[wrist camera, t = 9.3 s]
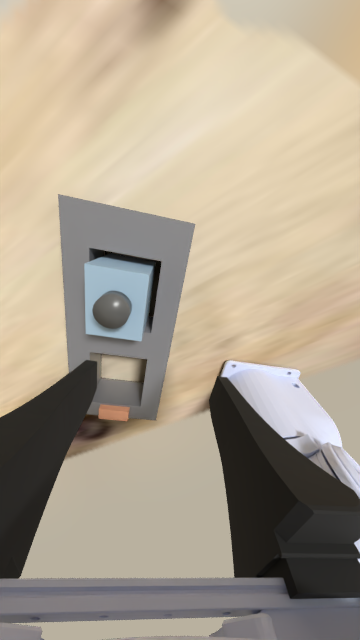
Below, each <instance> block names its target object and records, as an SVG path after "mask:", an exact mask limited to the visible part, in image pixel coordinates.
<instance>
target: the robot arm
mask: <svg viewBox="0 0 360 640" xmlns="http://www.w3.org/2000/svg"><path fill="white" fill-rule="evenodd" d="M234 364H235V365H234ZM232 365H234V366H232ZM299 376H300V372H299V370H297V369H290V368H282V367H275V366H268V365H260V364H253V363H245V362H238V361H230V360H229V361H226V362H225V364H224V367H223V370H222V373H221V376H217V379H216V382H215V385H214V388H213V391H212V394H211V397H210V399H209V403H210V412H211V418H212V423H213V427H214V431H215V435H216V440H217V444H218V448H219V452H220V457H221V462H222V466H223V474H224V481H225V488H226V495H227V503H228V512H229V520H230V530H231V540H232V552H233V564H234V576H235V578H77V579H76V578H68V579H67V578H60V579H59V578H58V579H56V578H50V579H49V578H48V579H18V578H19V577H20V576H21V573H22V570H23V567H24V565H25V562H26V559H27V556H28V553H29V550H30V548H31V545H32V542H33V539H34V536H35V533H36V531H37V528H38V525H39V523H40V520H41V517H42V515H43V512H44V509H45V506H46V504H47V501H48V498H49V496H50V493H51V491H52V488H53V486H54V483H55V481H56V478H57V475H58V473H59V470H60V468H61V466H62V463H63V461H64V458H65V456H66V453H67V451H68V449H69V447H70V445H71V443H72V441H73V439H74V437H75V435H76V433H77V431H78V429H79V427H80V425H81V423H82V421H83V419H84V417H85V415H86V413H87V411H88V409H89V407H90V405H91V403H92V400H93V398H94V395H95V392H96V389H97V361H91V360H86V361H84V362H83V363H81V364H80V365H79V366H78V367H76V368H75V369H74V370H73V371H71V372H70V373H69V374H68V375H66V376H65V377H64V378H62V379H61V380H60V381H58V382H57V383H56V384H54V385H53V386H51V387H50V388H48V389H47V390H45V391H44V392H43V393H41V394H40V395H38V396H37V397H35V398H34V399H32V400H30V401H29V402H27V403H26V404H24V405H22V406H20V407H19V408H17V409H15V410H14V411H12V412H10V413H8V414H6V415H4V416H2V417H0V640H44V639H42V638H41V634H42V630H41V627H36V626H28V625H19V624H11V623H30V622H64V621H65V622H67V621H98V620H99V621H100V620H135V619H172V618H205V617H206V618H207V617H238V618H233V619H228V620H224V622H223V624H222V628H221V629H219V630H218V631H217V632H215V633H213V634H211V635H209V637H202V636H154V637H132V638H117V639H104V640H360V466H359V465H358V464H357V462H356V461H355V460H354V459H353V458H352V457H351V456H350V455H349V454H348V453H347V452H346V451H345V450H344V449H343V448H342V442H341V438H340V434H339V432H338V429H337V427H336V425H335V423H334V422H333V420H332V419H331V417H330V416H329V415H328V414H327V413H326V411H325V410H324V409H323V408H322V407H321V405H320V404H319V403H318V402H317V401H316V400H315V398H314V397H313V396H312V395H311V394H310V393H309V391H308V390H307V389H306V388H305V387H304V385H303V384H302V383H301V382H300V381H299V380H298V377H299ZM242 616H243V617H242Z"/></svg>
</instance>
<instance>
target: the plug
mask: <svg viewBox="0 0 360 640" xmlns="http://www.w3.org/2000/svg"><path fill="white" fill-rule="evenodd" d="M155 265H156V261H153V260H147V259H142V258H136V257H131V256H125V255H120V254H115V253H110V254H107V255H105V256H102V257H100V258H97V259H95V260H92V261H90V262H87V263H85V264H84V270H85V323H86V334H90V335H98V336H105V337H113V338H120V339H127V340H135V341H142V337H143V334H144V330H145V326H146V322H147V318H148V315H149V311H150V303H151V295H152V288H153V280H154V272H155Z"/></svg>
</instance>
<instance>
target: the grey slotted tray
mask: <svg viewBox="0 0 360 640" xmlns="http://www.w3.org/2000/svg"><path fill="white" fill-rule="evenodd" d="M58 199H59V216H60V233H61V249H62V266H63V282H64V299H65V316H66V332H67V349H68V365H69V373H70V372H71V371H73V370H74V369H75V368H76V367H78V366H79V365H80V364H81V363H83V362H84V361H86V360H91V361H97V389H96V392H95V395H94V398H93V400H92V403H91V405H90V407H89V409H88V411H87V413H86V414H92V415H99V419H108V420H120V421H128V418H135V419H146V420H156V417H157V412H158V407H159V402H160V397H161V392H162V387H163V382H164V377H165V372H166V367H167V362H168V357H169V352H170V347H171V342H172V337H173V332H174V327H175V322H176V317H177V312H178V307H179V302H180V297H181V292H182V287H183V282H184V277H185V272H186V267H187V262H188V257H189V252H190V247H191V242H192V237H193V232H194V227H195V224H193V223H189V222H184V221H179V220H175V219H170V218H166V217H161V216H156V215H152V214H147V213H143V212H138V211H133V210H129V209H124V208H119V207H115V206H110V205H106V204H101V203H96V202H92V201H87V200H82V199H78V198H73V197H69V196H64V195H59V194H58ZM104 250H105V251H110V252H115V253H121V254H126V255H131V256H136V257H142V258H147V259H152V260H158V261H162V263H161V270H160V277H159V283H158V290H157V297H156V304H155V311H154V317H151V316H148V318H147V322H146V326H145V330H144V334H143V337H142V341H135V340H127V339H120V338H113V337H105V336H98V335H90V334H86V323H85V270H84V264H85V263H87V262H90V261H92V260H95V259H97V258H100V257H102V256H104ZM102 354H109V355H117V356H125V357H133V358H140V359H147V365H146V372H145V379H144V383H140V382H132V381H123V380H114V379H105V378H101V356H102Z"/></svg>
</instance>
